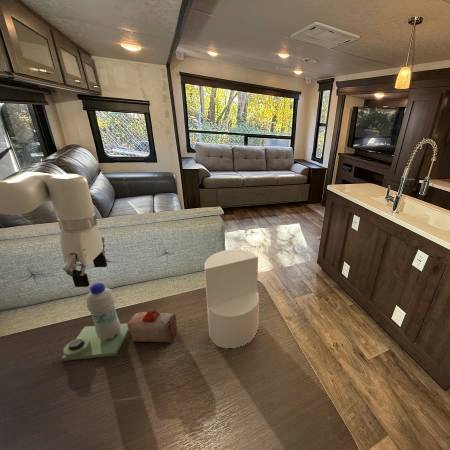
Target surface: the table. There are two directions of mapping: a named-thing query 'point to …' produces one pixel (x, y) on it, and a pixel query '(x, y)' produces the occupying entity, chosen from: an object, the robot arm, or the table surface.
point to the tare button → (76, 344)
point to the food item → (153, 327)
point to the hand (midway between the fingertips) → (92, 275)
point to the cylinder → (232, 297)
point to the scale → (95, 344)
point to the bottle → (103, 311)
